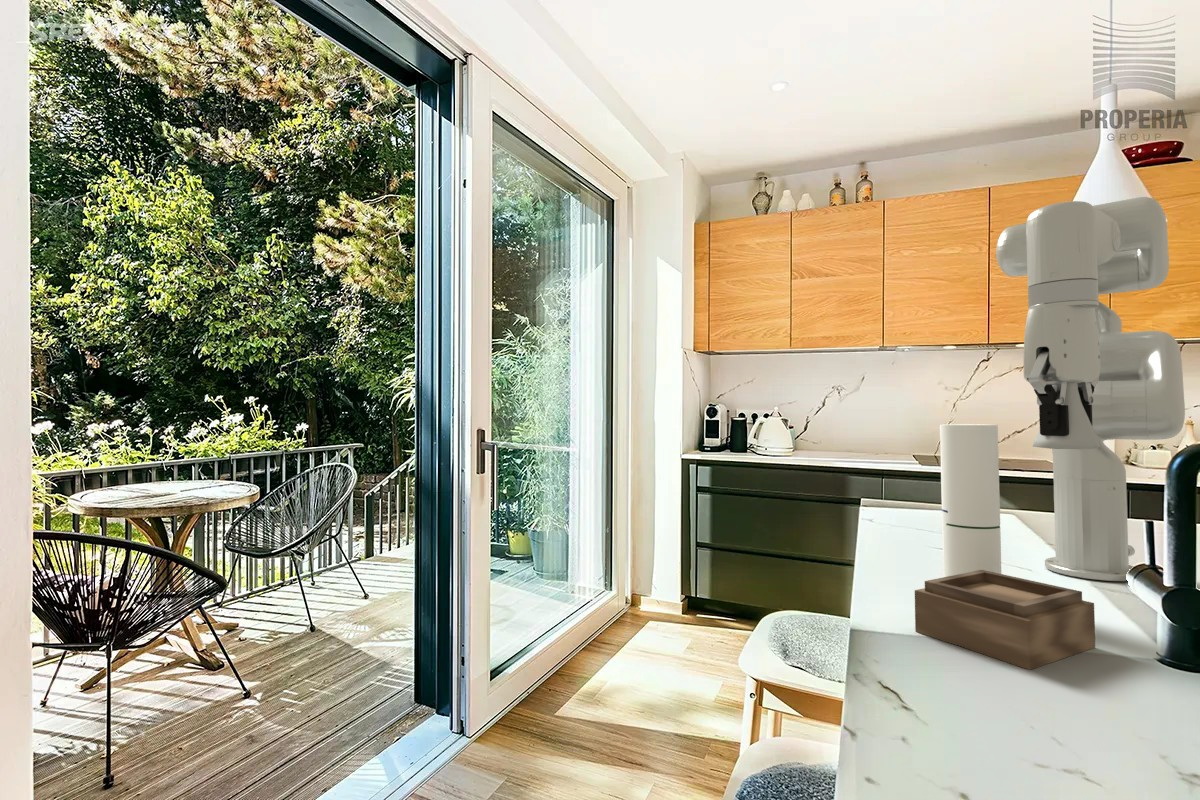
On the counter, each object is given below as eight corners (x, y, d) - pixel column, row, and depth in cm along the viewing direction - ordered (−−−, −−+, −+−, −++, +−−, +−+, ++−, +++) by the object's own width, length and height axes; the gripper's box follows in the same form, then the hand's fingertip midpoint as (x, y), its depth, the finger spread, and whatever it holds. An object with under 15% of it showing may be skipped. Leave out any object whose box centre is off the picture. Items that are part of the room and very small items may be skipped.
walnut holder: (980, 615, 82) (979, 567, 82) (1095, 647, 70) (1093, 592, 70) (915, 631, 76) (914, 580, 76) (1029, 669, 64) (1027, 609, 64)
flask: (1021, 448, 84) (1019, 375, 84) (1054, 446, 87) (1052, 375, 87) (1080, 451, 78) (1077, 371, 78) (1114, 448, 80) (1112, 372, 81)
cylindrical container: (985, 593, 91) (981, 424, 92) (1013, 608, 84) (1008, 424, 85) (935, 592, 92) (931, 424, 93) (957, 607, 85) (953, 425, 86)
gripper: (1065, 306, 90) (1069, 432, 90) (995, 299, 82) (999, 436, 82) (1128, 298, 83) (1132, 433, 83) (1058, 288, 75) (1062, 438, 75)
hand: (1066, 433), depth 82 cm, fingers closed on flask, 4 cm apart
